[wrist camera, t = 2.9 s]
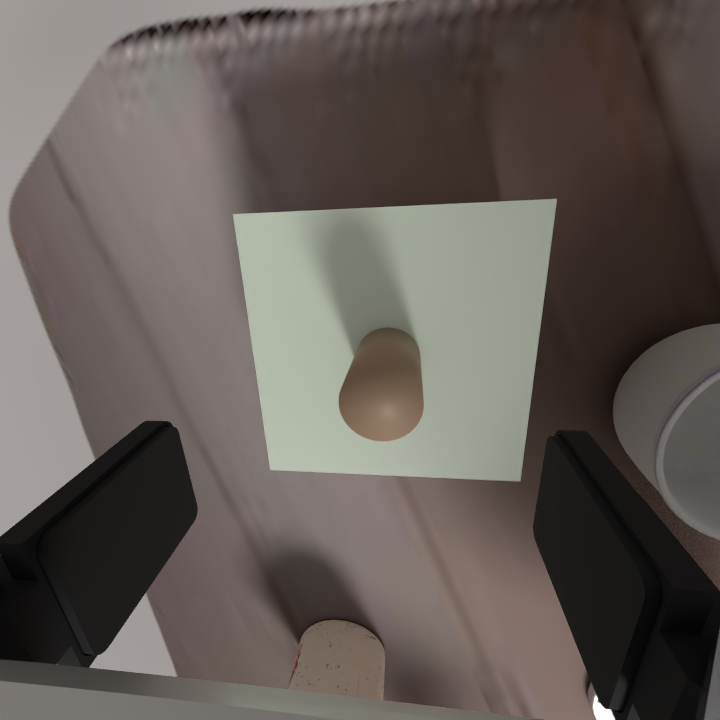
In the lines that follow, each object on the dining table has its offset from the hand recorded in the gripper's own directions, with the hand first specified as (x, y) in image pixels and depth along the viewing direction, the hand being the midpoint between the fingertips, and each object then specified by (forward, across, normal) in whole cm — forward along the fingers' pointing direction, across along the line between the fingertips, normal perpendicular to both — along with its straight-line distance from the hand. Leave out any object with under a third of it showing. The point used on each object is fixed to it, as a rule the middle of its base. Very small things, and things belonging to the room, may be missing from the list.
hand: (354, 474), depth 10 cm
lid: (+11, 0, +1) cm, 11 cm away
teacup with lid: (+17, +4, +36) cm, 40 cm away
